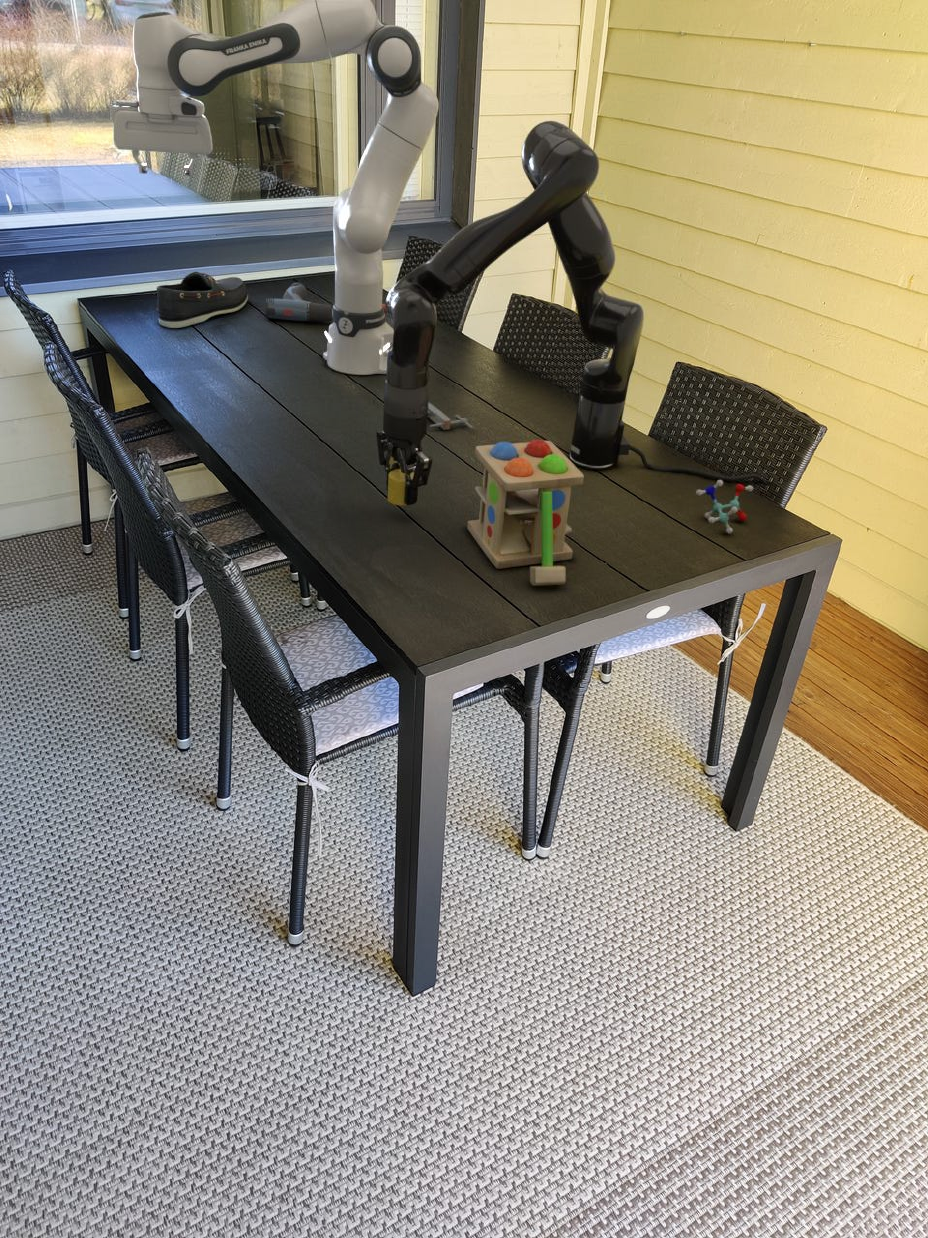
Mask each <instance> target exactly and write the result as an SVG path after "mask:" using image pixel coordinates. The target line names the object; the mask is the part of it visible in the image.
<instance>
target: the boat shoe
mask: <svg viewBox="0 0 928 1238" xmlns="http://www.w3.org/2000/svg"><path fill="white" fill-rule="evenodd" d="M156 293H157V294H156V295H157V305H156V306H157V308H156V309H155V311H156V313H158V323H159V325H160V326H162V327H166V328H169V329H170V328H171V329H178V328H185V327H188V326H189V327H190V326H192V325H196V324H199V323H203V322H205V321H206V320H209V318H211V317H214V316H218V315H222V314H228V313H234V312H236V311H239V310H240V309H242V308H243V307H244V306H245V305H246V304H247V303H248V301H249V292H248V290H247V286H246V284H245V283H244V281H243V280H242V278H240V277H236V276H231V277H225V278H220V279H217V280H216V279H215V278H214V277H213V276H212V275H210V274H207V273H204V272H199V271H192V272H190V273H188V274H187V275H185V276H184V278H183V279H182V280H181V282H180V283H174V284H162V285H158V286H157V287H156Z"/></svg>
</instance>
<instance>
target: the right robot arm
mask: <svg viewBox="0 0 928 1238" xmlns="http://www.w3.org/2000/svg"><path fill="white" fill-rule="evenodd" d="M521 164H522V165H521V166H522V168H523V172H524V174H525V176H526V178H527V179H528V181H529V183H530V184H531V186H532V188H533V191H532V192H531V193H530V194H529V195H528V196H526V197H525V198H524V199H522V200H521V201H520V202H518V203H516V204H515V205H512V206H510V207H508V208H506V209H504V210H502V211H498V212H496V213H494V214H490V215H487V216H485V217H482V218H479V219H476V220H475V221H472V222H471V223H469V224H467V225H466V226H464V227H462V228H461V229H460V230H459V231H458V232H457V233H455V234H454V235H453V236H452V237H451V238H450V239H449V240H447V242H446V243H445V244H444V245H443V246H441V248H440V249H439V250H438V251H437V252H436V253H435V254H434V255H433V256H432V257H431V258H430V259H428V260H427V261H425V262H423V263H422V264H420V265H418V266H417V267H416V268H414V269H413V270H411V271H410V272H408V273H407V274H405V275H404V276H403V277H401V278H400V279H399V280H398V281H397V282H395V284H394V285H393V286H392V288H391V289H390V290H389V292H388V293H387V295H386V298H385V302H384V304H385V307H386V312H387V313H386V314H387V316H388V318H389V319H390V322H392V328H393V330H394V331H393V346H392V347H391V348H390V349H389V351H388V356H387V369H386V374H385V387H384V392H383V415H382V430H381V431H377V432H376V443H377V444H376V445H377V454H378V462H379V464H380V466H383V467H384V471H385V472H386V484H385V485H386V491H387V492H388V477H389V473H390V472H391V471H393V470H396V469H401V472H402V473H403V474H404V476H405V483H406V485H405V497H404V503H405V504H406V506H411V505H415V504H416V503H417V502H418V496H419V495H418V493H419V488H420V487H425V486H427V484H428V481H429V477H430V473H431V470H432V465H433V462H434V461H433V458H432V456H426V455H425V454H424V452H423V447H422V440H423V439H424V438H425V436H426V434H427V432H428V418H429V417H428V403H430V394H429V393H430V391H429V378H430V377H429V376H430V356H431V352H432V350H433V345H434V341H435V337H436V332H437V322H438V321H437V320H438V319H437V318H438V317H437V308H436V304H437V303H438V302H440V301H441V300H443V299H445V297H447V296H458V295H460V294H461V293H462V292H463V291H465V290H466V289H467V288H468V287H469V286H470V285H472V283H474V281H475V280H477V279H478V277H480V276H481V275H482V274H483V273H484V272H486V270H487V269H488V268H489V267H490V266H491V265H493V263H495V262H496V261H497V260H498V259H499V258H500V257H501V256H503V255H504V254H505V253H506V252H508V251H509V250H510V249H512V248H513V247H514V246H516V245H517V244H519V243H520V242H522V241H523V240H524V239H526V238H528V237H529V236H531V235H532V234H533V233H535V232H536V231H538V230H539V229H541V228H542V227H543V226H545V225H546V224H548V227H549V230H550V233H551V236H552V239H553V242H554V245H555V248H556V251H557V254H558V257H559V260H560V262H561V266H562V268H563V270H564V273H565V275H566V277H567V280H568V282H569V286H570V289H571V293H572V295H573V298H574V302H575V303H574V304H575V307H576V312H577V316H578V322H579V326H580V330H581V333H582V335H583V337H584V339H586V340H587V341H588V342H590V343H591V344H593V345H597V346H599V347H604V348H607V349H610V350H612V352H611V355H610V357H607V358H598V359H594V360H590V361H588V362H586V364H584V366H583V370H582V375H581V382H580V389H579V396H578V401H577V402H578V403H577V408H576V414H575V420H574V428H573V434H572V441H571V445H570V452H569V456H568V459H569V460H570V461H571V462H572V463H573V464H574V465H575V466H576V467H577V466H578V467H579V468H583V469H587V470H592V471H604V470H609V469H610V468H616V467H618V462H619V457H620V456H628V455H629V452H630V451H632V452H634V453H635V454H637V455H638V456H639V457H640V459H641V462H642V465H643V466H645V467H646V468H647V469H649V470H652V471H659V472H669V473H670V472H671V473H672V472H673V473H675V472H681V473H688V474H694V475H698V476H702V477H705V478H711V479H715V480H722V481H726V482H737V481H743V480H748V479H756V480H758V481H759V482H761V483H762V484H768V481H767V480H766V479H765V478H764V477H763V478H762V479H761V476H762V475H760V474H757V473H747V474H743V475H738V476H728V475H727V476H726V475H720V474H716V473H712V472H706V471H703V470H699V469H694V468H689V467H681V466H673V467H661V466H657V465H656V466H655V465H653V464H651V463H649V462H648V461H647V458H646V456H645V453H643V451H642V450H640V449H639V448H637V447H635V446H634V445H631V444H630V442H629V441H628V440H627V438H626V437H625V435H624V430H625V422H624V421H623V416H624V411H625V406H626V400H627V394H628V388H629V384H630V378H631V375H632V371H633V369H634V366H635V362H636V357H637V352H638V348H639V344H640V339H641V336H642V332H643V326H644V320H645V313H644V309H643V307H642V305H641V304H639V303H637V302H635V301H630V300H626V299H624V298H621V297H615V296H613V295H612V296H611V295H609V294H607V293H606V292H605V290H604V289H603V286H604V284H605V283H606V282H607V280H608V279H609V278H610V276H611V274H612V272H613V270H614V268H615V265H616V250H615V246H614V243H613V240H612V236H611V233H610V229H609V227H608V224H607V223H606V221H605V219H604V218H603V216H602V214H601V213H600V211H599V209H598V208H597V206H596V205H595V203H594V201H593V199H592V198H591V197H590V195H589V194H588V192H589V191H590V189H591V188H592V187H593V185H594V184H595V182H596V181H597V178H598V175H599V172H600V171H599V170H600V160H599V156H598V155H597V153H596V152H595V150H594V149H593V148H592V147H591V146H590V145H589V144H588V143H587V142H586V141H584V140H583V138H582V137H580V136H579V134H577V133H576V132H575V131H574V130H573V129H572V128H570V127H569V126H567V125H565V124H564V123H561V122H559V121H556V120H545V121H542V122H539V123H538V124H536V125H534V127H532V128H531V130H530V131H529V132H528V134H527V136H526V137H525V140H524V141H523V146H522V149H521ZM385 452H386V455H385ZM412 465H413V466H412ZM408 466H409V467H408ZM411 473H414V475H413V479H411V476H410V474H411Z"/></svg>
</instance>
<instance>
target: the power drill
mask: <svg viewBox="0 0 928 1238" xmlns="http://www.w3.org/2000/svg"><path fill="white" fill-rule="evenodd" d="M307 295H308V290H307V287H306V285H304V284H303V283H301V282H293V283H292V284H291V285H290V286H289V287H288V288H287V289H286V291H285V292H284V294H283V297H282V298H266V299H265V302H264V313H265V314H264V316H265V318H267V319H274V320H275V319H276V320H283V321H294V322H295V321H297V322H332V321H333V314H332V311H333V305H331V304H324V303H317V302H313V301H307V300H305V299H306V297H307Z"/></svg>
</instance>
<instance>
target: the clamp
mask: <svg viewBox="0 0 928 1238" xmlns="http://www.w3.org/2000/svg"><path fill="white" fill-rule="evenodd" d="M428 418H429V419H430V420H431V421H432V422H434V423H433V424H430V425H429V427H430V428H441V429H442V430H443V431H447V430H451V426H454V425H460V426H461V425H465V426H467V427H468V428H470V430H471V431H472V432H473V431H475V430H476V427H475V426H474V425H472V424H470V423H469V422H468V419H467V417H461V416H460V414H455V416H454V418H455V419H456V420H452V419H451V418H450V417H448V416H447V414H445V413H443V412H442V411H441V410H440V409H438V408H437V407H435V406H434V405H433V404H432V403H431V402H429V403H428Z"/></svg>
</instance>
